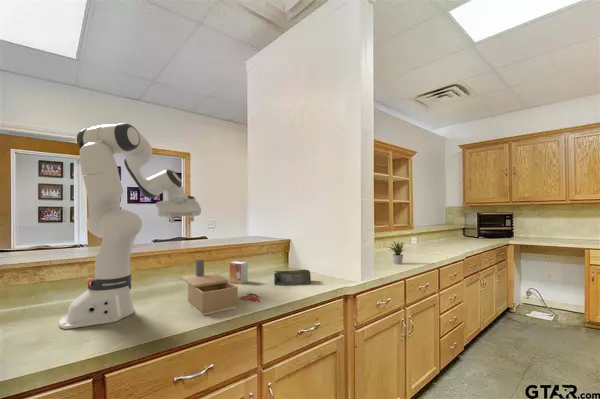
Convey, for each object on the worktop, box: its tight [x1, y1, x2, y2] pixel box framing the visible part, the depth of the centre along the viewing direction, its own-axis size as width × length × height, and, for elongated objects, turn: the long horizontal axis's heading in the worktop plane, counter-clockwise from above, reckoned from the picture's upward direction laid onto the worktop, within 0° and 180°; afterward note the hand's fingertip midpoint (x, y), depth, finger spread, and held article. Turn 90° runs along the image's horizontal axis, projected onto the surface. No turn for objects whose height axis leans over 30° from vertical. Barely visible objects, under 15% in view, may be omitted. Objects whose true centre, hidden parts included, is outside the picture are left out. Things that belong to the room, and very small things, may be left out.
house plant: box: [388, 240, 405, 265], centre depth 208 cm, size 14×14×16 cm
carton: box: [187, 282, 239, 316], centre depth 120 cm, size 14×18×8 cm
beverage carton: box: [273, 268, 312, 286], centre depth 156 cm, size 8×19×7 cm, turn 95°
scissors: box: [239, 292, 268, 308], centre depth 125 cm, size 8×21×2 cm, turn 46°
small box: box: [228, 260, 249, 285], centre depth 157 cm, size 8×6×10 cm
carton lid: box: [180, 258, 230, 288], centre depth 128 cm, size 15×19×8 cm
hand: (182, 220), depth 144 cm, fingers open, 8 cm apart
